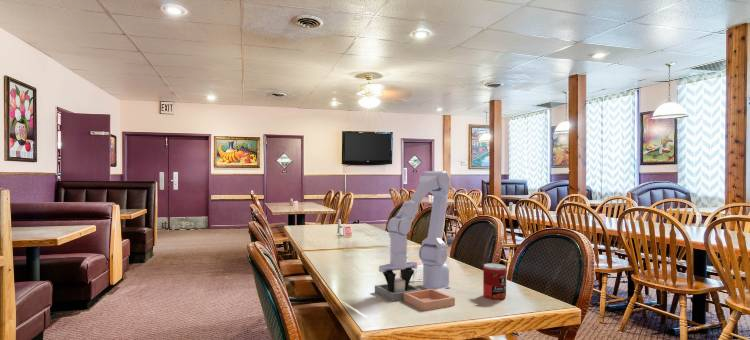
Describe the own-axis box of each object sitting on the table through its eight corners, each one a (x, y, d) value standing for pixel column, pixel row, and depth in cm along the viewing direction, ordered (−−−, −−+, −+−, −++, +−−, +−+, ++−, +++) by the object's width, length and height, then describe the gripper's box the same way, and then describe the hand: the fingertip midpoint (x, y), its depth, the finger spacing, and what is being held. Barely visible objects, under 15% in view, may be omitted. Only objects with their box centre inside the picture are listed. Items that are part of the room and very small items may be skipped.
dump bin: (432, 297, 147) (432, 288, 147) (454, 307, 137) (454, 297, 137) (403, 302, 141) (403, 293, 141) (424, 312, 131) (424, 302, 131)
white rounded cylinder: (400, 291, 151) (400, 277, 151) (407, 295, 147) (408, 281, 147) (388, 293, 149) (388, 279, 149) (395, 297, 144) (395, 282, 144)
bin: (403, 289, 156) (403, 281, 156) (422, 298, 146) (422, 289, 146) (374, 294, 150) (374, 285, 150) (392, 303, 140) (392, 294, 140)
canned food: (494, 301, 143) (494, 269, 143) (478, 295, 150) (478, 264, 150) (511, 298, 147) (511, 266, 147) (494, 292, 154) (494, 262, 154)
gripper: (409, 248, 155) (408, 285, 155) (374, 251, 148) (374, 290, 148) (420, 251, 149) (420, 290, 149) (385, 255, 142) (384, 295, 142)
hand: (398, 290), depth 148 cm, fingers closed on white rounded cylinder, 5 cm apart
